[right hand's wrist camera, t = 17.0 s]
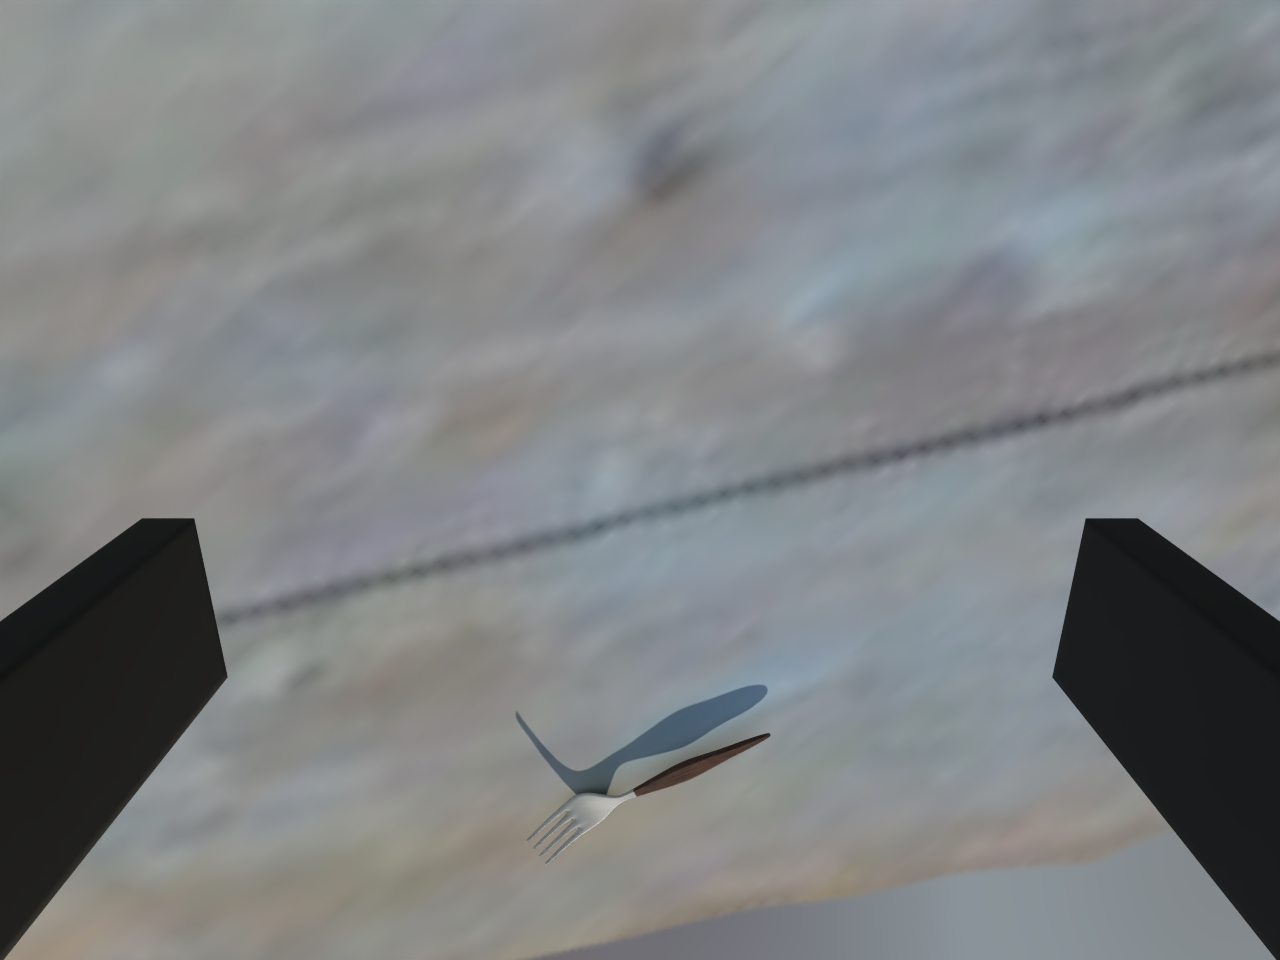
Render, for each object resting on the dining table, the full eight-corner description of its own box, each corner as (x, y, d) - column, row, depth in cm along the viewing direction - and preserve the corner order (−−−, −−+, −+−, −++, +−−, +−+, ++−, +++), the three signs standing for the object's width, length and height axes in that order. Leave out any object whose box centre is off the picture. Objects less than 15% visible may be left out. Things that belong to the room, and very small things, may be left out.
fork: (778, 744, 50) (783, 767, 48) (550, 842, 53) (547, 867, 51) (759, 712, 49) (764, 734, 48) (528, 814, 52) (524, 838, 50)
